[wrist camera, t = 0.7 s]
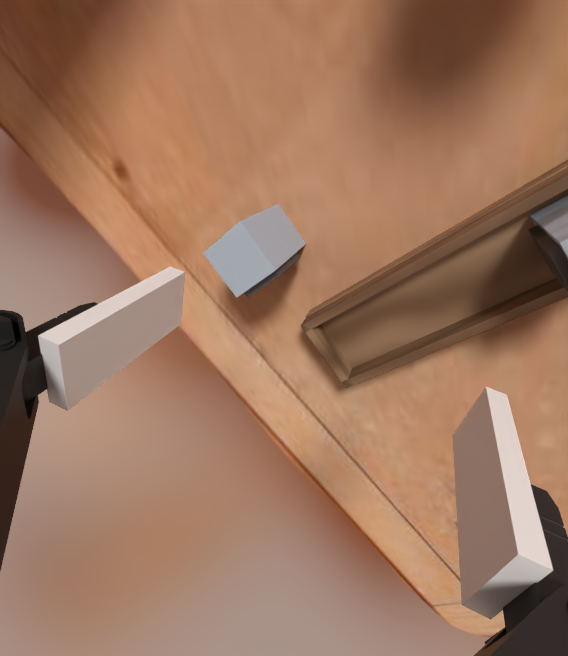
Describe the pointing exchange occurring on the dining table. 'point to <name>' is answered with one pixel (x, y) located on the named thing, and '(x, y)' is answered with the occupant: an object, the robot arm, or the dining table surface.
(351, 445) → the dining table surface
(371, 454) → the dining table surface
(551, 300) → the rail
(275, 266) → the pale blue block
